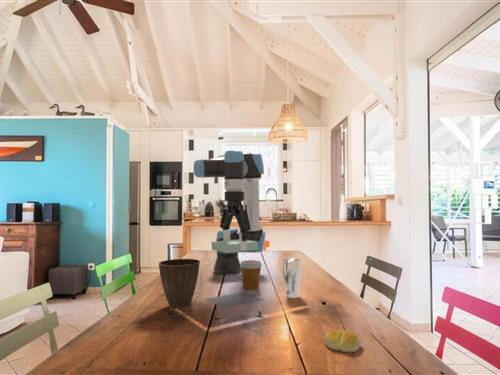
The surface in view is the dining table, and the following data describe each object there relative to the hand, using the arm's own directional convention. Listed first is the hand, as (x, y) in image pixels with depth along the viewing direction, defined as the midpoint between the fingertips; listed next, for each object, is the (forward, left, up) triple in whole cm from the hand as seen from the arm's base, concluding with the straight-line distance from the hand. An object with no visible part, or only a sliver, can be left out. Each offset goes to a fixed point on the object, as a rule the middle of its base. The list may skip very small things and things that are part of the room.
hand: (234, 248), depth 132 cm
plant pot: (-8, -19, -21) cm, 29 cm away
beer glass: (+9, +21, -21) cm, 31 cm away
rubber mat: (0, 0, -20) cm, 20 cm away
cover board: (0, 0, -1) cm, 1 cm away
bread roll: (+51, +2, -21) cm, 55 cm away
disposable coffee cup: (-11, +15, -21) cm, 28 cm away
